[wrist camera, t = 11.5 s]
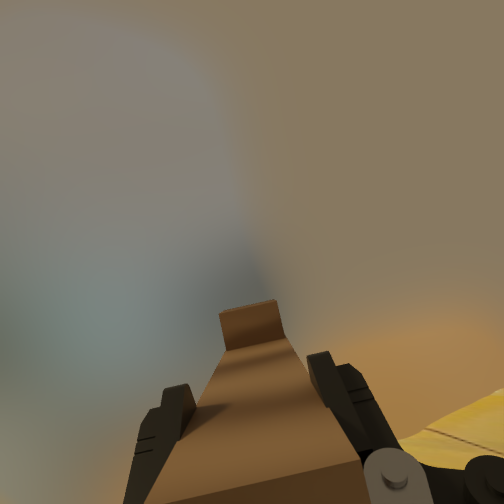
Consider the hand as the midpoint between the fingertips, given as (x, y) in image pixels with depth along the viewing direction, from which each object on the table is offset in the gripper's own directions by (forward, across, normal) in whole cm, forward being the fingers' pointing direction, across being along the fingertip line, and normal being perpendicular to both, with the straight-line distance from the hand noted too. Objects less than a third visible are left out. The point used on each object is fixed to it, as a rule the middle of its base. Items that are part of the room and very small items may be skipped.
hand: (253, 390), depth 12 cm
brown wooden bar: (+3, 0, -5) cm, 6 cm away
